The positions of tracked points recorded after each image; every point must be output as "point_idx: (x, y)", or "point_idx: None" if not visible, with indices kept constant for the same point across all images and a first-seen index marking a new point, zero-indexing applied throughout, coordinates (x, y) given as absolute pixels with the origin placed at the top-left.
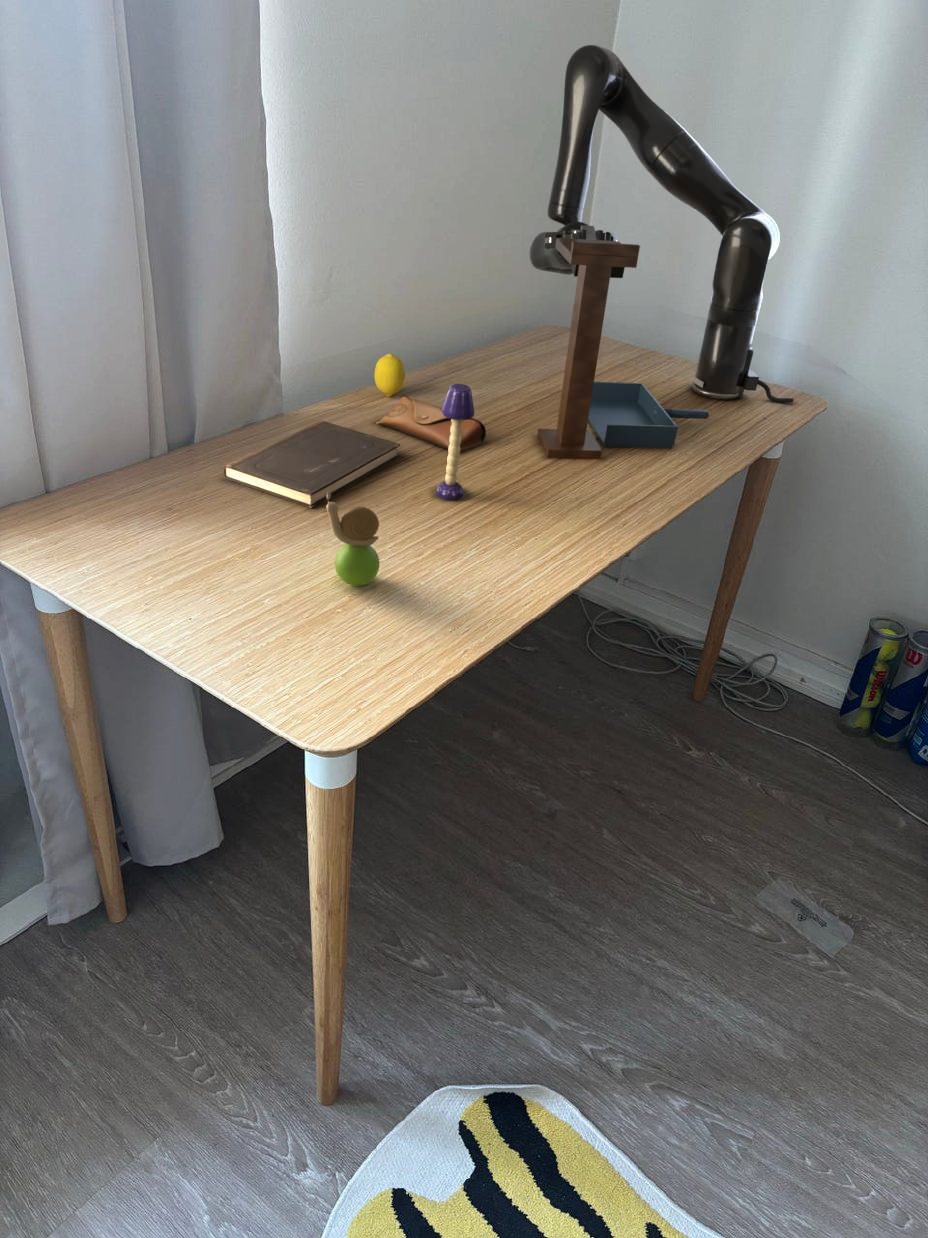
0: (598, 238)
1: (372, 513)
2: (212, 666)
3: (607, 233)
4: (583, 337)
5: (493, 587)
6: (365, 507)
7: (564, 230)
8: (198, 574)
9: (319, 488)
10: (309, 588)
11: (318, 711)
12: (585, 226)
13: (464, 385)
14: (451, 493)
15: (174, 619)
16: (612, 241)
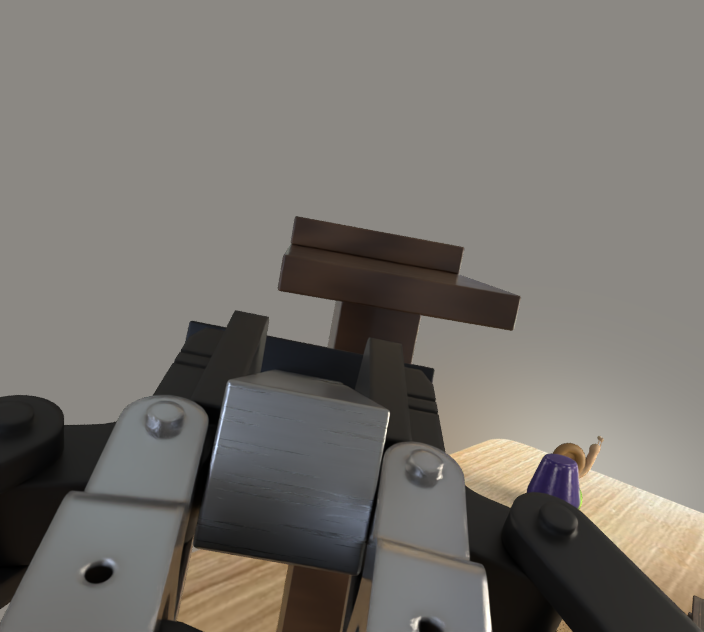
0: (260, 368)
1: (560, 445)
2: (601, 477)
3: (49, 409)
4: None
5: None
6: (568, 444)
7: (571, 517)
8: (693, 540)
9: (694, 604)
10: (591, 515)
11: (522, 450)
12: (337, 399)
13: (557, 460)
14: None
15: (661, 507)
16: (312, 258)
